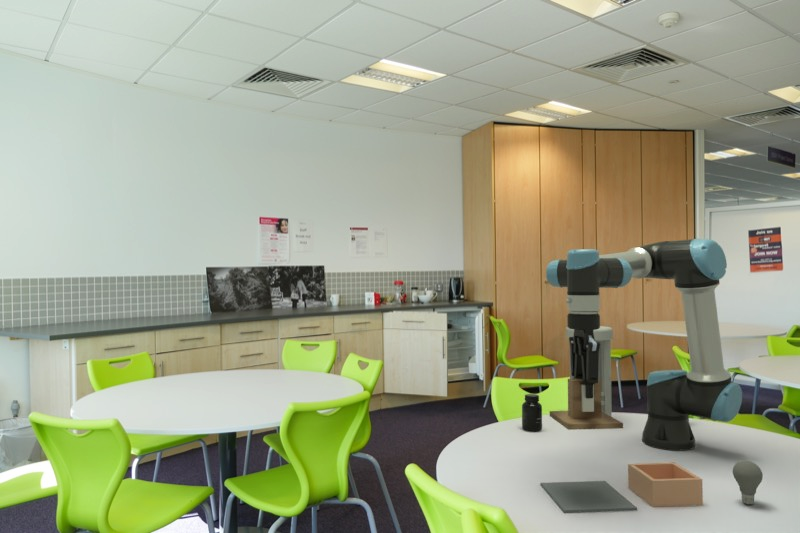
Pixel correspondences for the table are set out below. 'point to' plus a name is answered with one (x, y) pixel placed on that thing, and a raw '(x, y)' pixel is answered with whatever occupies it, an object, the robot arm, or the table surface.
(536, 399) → the supplement bottle
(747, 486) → the light bulb
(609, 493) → the mat
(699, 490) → the open tan tray
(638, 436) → the table surface
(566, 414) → the lid
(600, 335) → the stool
